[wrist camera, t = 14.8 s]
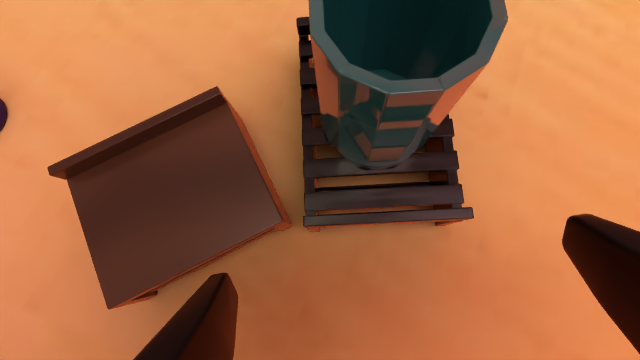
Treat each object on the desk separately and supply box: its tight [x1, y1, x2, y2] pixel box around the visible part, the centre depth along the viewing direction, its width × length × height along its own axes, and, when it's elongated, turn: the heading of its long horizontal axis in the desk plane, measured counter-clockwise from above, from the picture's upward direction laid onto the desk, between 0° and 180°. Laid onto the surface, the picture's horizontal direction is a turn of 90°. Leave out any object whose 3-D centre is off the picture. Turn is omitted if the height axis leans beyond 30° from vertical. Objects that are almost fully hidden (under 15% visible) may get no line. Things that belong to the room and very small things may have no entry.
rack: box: [297, 17, 474, 232], centre depth 21 cm, size 13×9×5 cm
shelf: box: [48, 86, 292, 309], centre depth 20 cm, size 9×11×5 cm
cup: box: [309, 0, 508, 167], centre depth 15 cm, size 6×6×9 cm
